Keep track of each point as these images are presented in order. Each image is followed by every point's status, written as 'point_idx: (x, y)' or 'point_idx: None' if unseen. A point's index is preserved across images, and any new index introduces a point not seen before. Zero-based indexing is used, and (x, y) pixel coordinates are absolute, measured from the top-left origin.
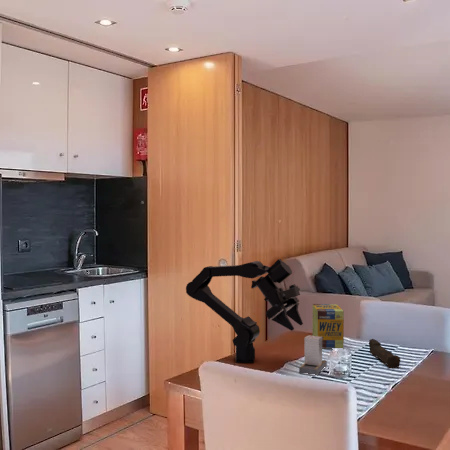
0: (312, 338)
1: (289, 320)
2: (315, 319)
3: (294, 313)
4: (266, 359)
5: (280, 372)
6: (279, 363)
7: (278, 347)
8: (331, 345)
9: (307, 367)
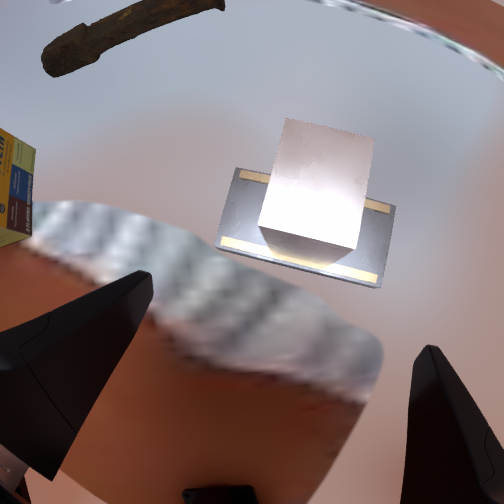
0: (362, 183)
1: (464, 422)
2: None
3: (56, 385)
4: (187, 442)
5: (368, 370)
6: (234, 390)
7: None
8: (23, 181)
9: (367, 249)
